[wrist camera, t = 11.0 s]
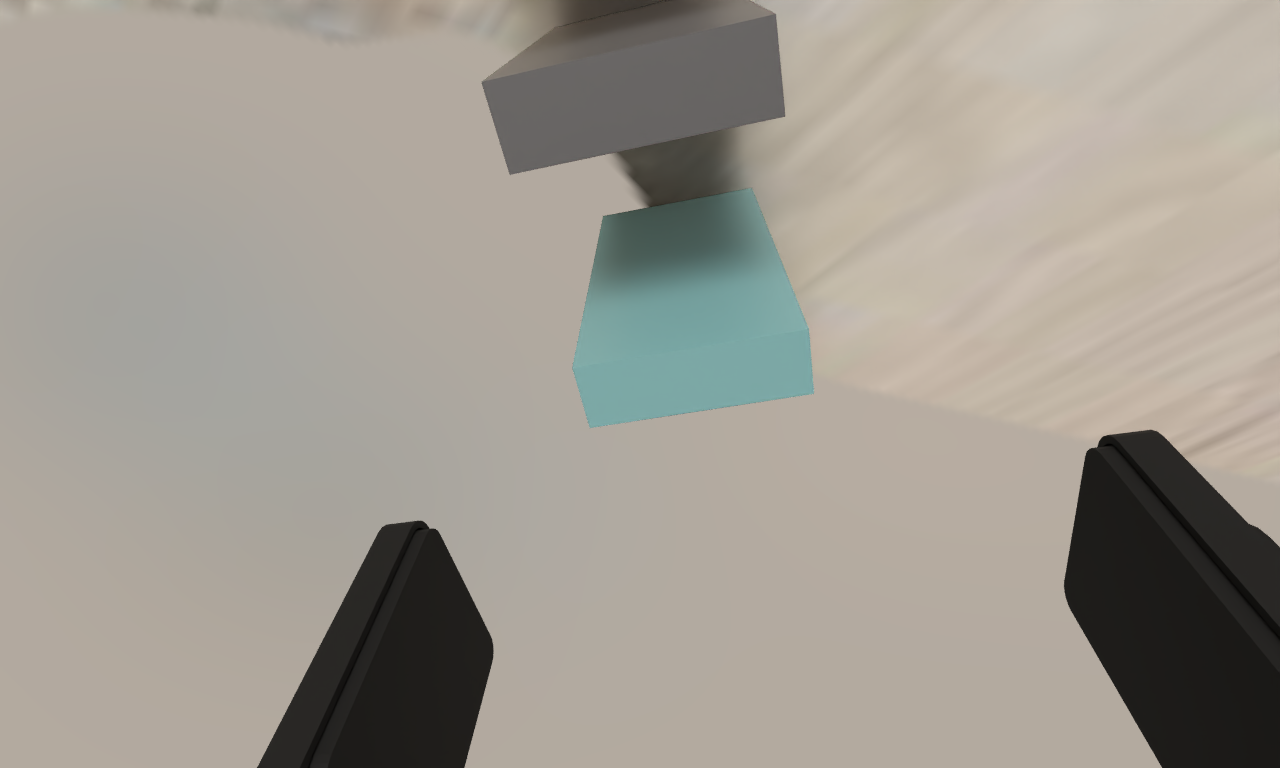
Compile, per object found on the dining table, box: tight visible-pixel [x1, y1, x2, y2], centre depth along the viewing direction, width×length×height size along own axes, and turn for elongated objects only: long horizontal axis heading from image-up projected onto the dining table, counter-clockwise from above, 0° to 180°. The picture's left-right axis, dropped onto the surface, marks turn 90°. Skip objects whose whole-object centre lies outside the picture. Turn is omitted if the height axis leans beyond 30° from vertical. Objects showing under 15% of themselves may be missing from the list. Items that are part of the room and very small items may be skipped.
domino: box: [482, 0, 785, 175], centre depth 16 cm, size 2×5×10 cm, turn 102°
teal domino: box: [572, 188, 814, 428], centre depth 19 cm, size 2×5×10 cm, turn 102°
